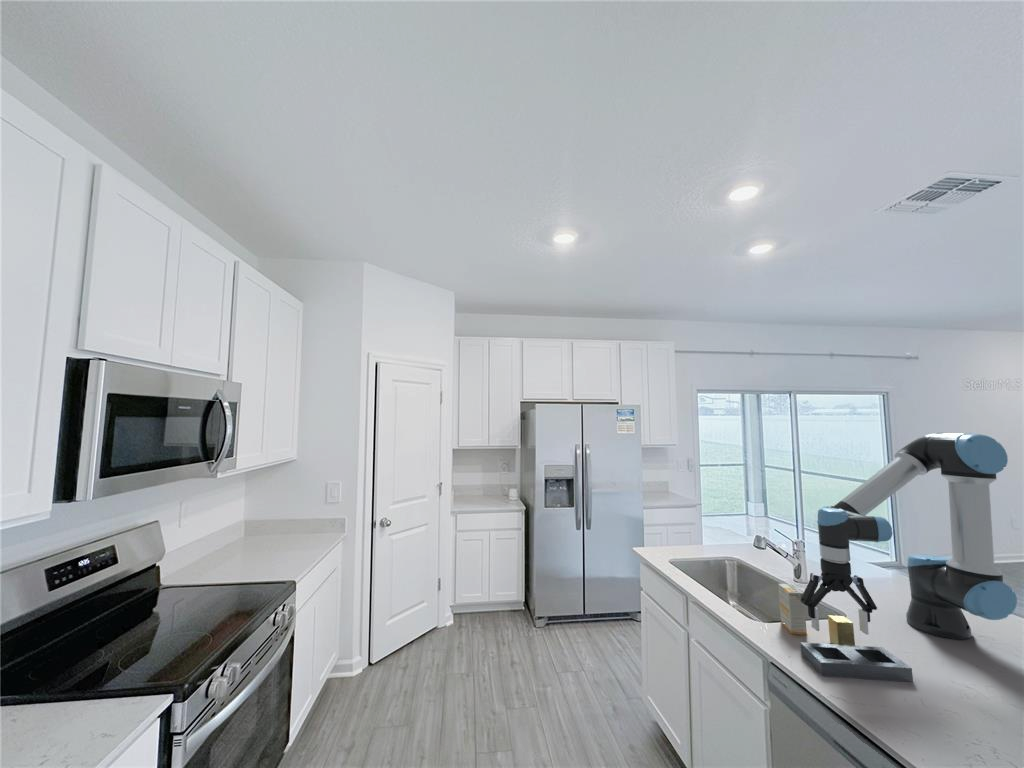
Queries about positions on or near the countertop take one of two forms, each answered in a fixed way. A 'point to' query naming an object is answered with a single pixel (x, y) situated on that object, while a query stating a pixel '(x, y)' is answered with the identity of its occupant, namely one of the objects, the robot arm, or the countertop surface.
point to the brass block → (841, 630)
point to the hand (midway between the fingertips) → (839, 630)
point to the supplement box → (792, 609)
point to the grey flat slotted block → (856, 662)
